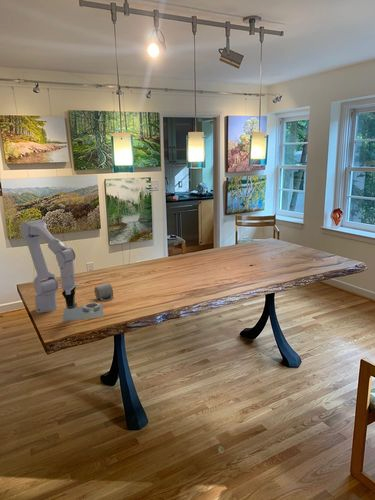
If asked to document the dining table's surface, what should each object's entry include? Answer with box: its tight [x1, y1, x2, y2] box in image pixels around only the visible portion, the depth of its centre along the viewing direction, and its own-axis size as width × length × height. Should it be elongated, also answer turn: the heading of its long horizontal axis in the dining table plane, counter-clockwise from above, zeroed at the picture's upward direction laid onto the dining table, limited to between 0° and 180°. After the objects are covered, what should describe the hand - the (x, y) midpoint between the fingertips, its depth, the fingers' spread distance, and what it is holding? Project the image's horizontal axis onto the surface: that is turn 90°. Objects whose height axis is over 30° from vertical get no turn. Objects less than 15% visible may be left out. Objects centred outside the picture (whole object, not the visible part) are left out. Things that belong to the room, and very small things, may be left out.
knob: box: [65, 295, 79, 309], centre depth 171 cm, size 5×4×6 cm
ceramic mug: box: [94, 282, 114, 302], centre depth 196 cm, size 11×8×8 cm
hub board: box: [62, 302, 104, 323], centre depth 178 cm, size 18×16×2 cm
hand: (70, 304), depth 172 cm, fingers closed on knob, 4 cm apart
